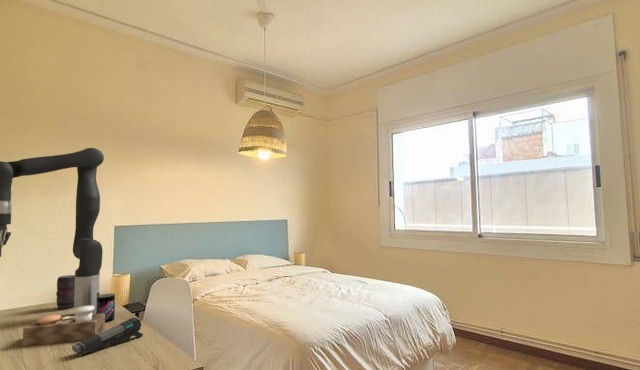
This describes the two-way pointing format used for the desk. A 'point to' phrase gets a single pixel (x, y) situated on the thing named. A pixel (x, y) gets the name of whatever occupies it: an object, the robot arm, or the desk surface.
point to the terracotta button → (49, 319)
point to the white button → (83, 313)
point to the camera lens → (65, 292)
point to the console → (63, 330)
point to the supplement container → (106, 306)
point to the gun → (109, 336)
